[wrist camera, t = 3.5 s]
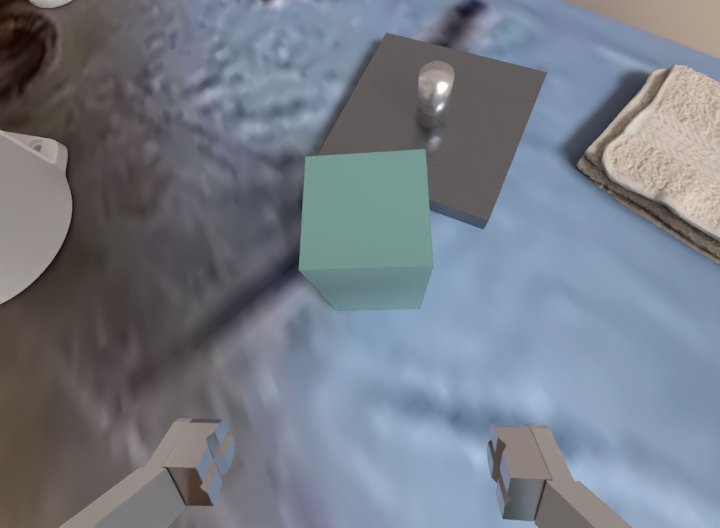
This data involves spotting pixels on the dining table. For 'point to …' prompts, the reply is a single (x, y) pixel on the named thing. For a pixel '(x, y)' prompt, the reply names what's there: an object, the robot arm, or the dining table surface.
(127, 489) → the robot arm
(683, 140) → the washcloth
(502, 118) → the stub plate
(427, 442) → the dining table surface
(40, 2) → the bottle
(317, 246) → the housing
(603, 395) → the dining table surface
